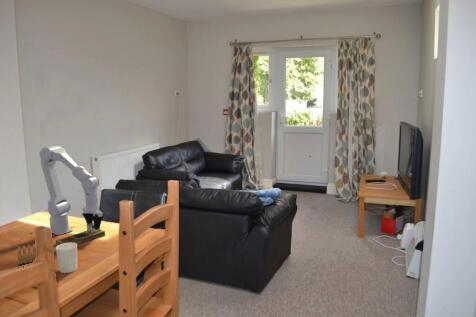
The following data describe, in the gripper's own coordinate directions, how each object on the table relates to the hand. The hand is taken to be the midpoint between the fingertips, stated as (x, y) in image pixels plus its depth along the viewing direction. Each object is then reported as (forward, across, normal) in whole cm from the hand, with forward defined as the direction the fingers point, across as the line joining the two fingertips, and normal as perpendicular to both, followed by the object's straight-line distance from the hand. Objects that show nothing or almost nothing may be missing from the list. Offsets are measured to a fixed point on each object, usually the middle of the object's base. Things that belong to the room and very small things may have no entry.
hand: (93, 227), depth 200 cm
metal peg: (+4, 0, 0) cm, 4 cm away
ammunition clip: (+4, +18, -38) cm, 42 cm away
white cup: (+4, +26, -28) cm, 38 cm away
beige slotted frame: (+4, 0, -7) cm, 8 cm away
